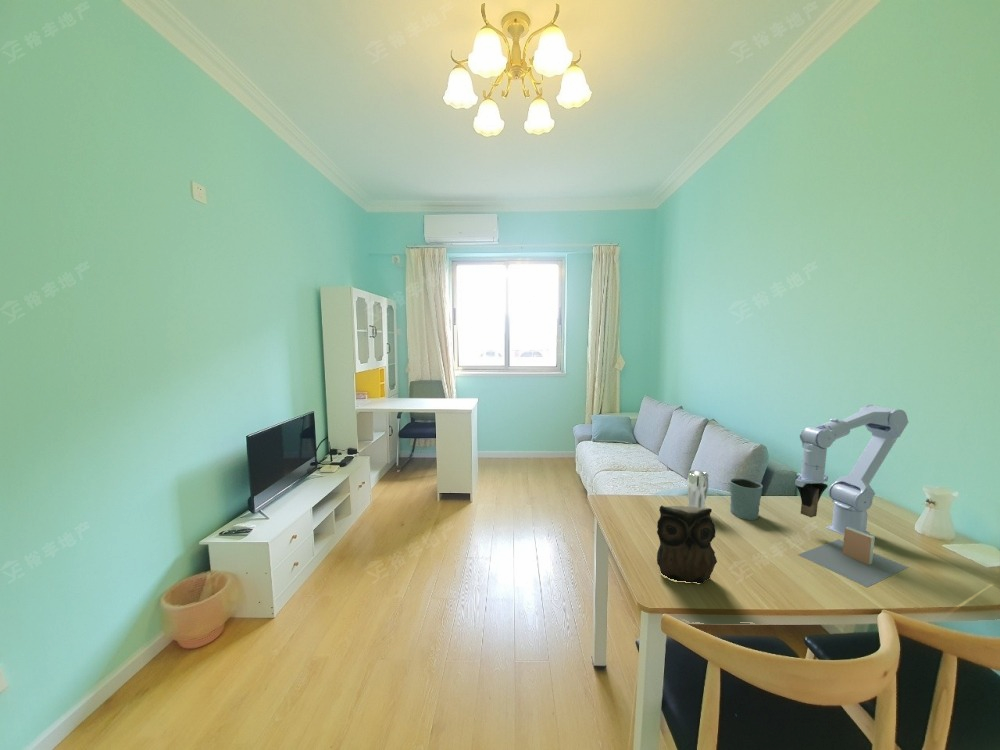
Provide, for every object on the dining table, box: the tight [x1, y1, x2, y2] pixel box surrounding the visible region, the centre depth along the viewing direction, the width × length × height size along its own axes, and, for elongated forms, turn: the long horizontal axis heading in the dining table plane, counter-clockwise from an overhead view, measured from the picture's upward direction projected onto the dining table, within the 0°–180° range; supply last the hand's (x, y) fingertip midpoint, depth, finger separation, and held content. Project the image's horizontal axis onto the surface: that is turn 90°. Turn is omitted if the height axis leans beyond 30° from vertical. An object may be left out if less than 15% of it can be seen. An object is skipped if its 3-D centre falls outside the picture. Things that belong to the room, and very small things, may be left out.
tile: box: [842, 527, 876, 565], centre depth 109 cm, size 2×6×8 cm, turn 23°
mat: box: [797, 538, 909, 588], centre depth 108 cm, size 22×16×1 cm
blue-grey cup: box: [729, 477, 764, 521], centre depth 137 cm, size 10×10×12 cm
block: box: [800, 489, 819, 518], centre depth 122 cm, size 3×3×9 cm
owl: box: [656, 505, 718, 584], centre depth 101 cm, size 13×13×20 cm
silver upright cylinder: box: [686, 469, 710, 508], centre depth 138 cm, size 7×7×15 cm
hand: (809, 504), depth 122 cm, fingers closed on block, 3 cm apart
